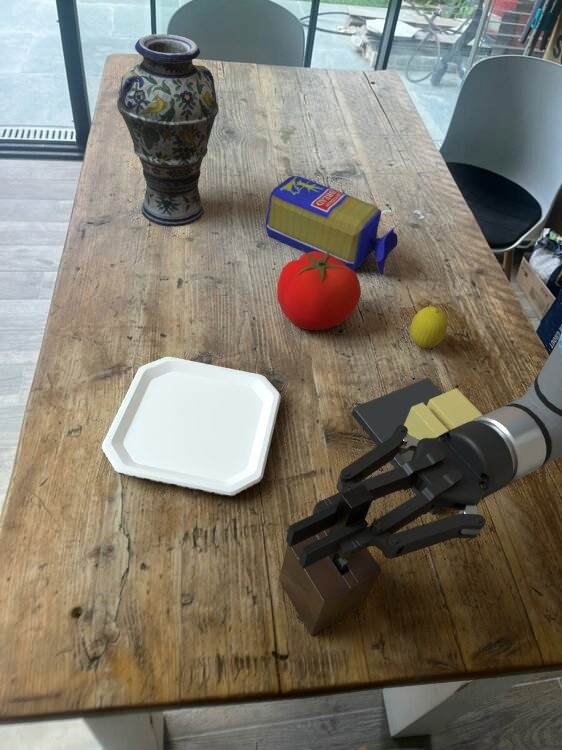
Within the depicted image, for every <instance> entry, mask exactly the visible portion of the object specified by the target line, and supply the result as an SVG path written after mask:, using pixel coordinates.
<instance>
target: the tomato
mask: <svg viewBox="0 0 562 750" xmlns="http://www.w3.org/2000/svg"><path fill="white" fill-rule="evenodd" d="M330 250H331V249H330ZM330 250H329V251H328V252H327V254H325V253H321V252H316V251H314V252H310V253H306V252H305V251H304V250H302V249H301V250H300V251H302V252H303V253H302V255H301V256H300V257H299V258H298V259H293V260H291V261H289V262H287V263H286V264H285V265H284V266H283V267H282V269H281V272H280V276H279V279H278V281H277V286H276V296H277V302H278V305H279V306H280V308H281V311H282V312H283V314H284V316H285V317H286V318H287V319H288V320H289V321H290V322H291V324H292V325H294V326H295V327H297V328H300V329H304V330H309V331H319V330H328V329H330V328H333V327H335V326H337V325H340V324H342V323H343V322H345V321H346V320H347V319H348V318H349V317H350V316H351V314H353V312H354V311H355V309H356V307H357V306H358V304H359V302H360V299H361V293H362V288H361V284H360V279H359V277H358V275H357V272H356V271H355V270H351V269H350V268H348V267H347V266H346V265H345V264H344V263H343V262H342V261H340V260H338V259H337V258H335V257H333V256H331V255H330V254H329V252H330Z"/></svg>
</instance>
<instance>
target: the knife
mask: <svg viewBox="0 0 562 750" xmlns="http://www.w3.org/2000/svg"><path fill="white" fill-rule="evenodd" d="M373 498H374V497H373V496H372V495H371V493H370V492H369V491H368V489H367V488H366V487H365V485H364V484H362V485H360V486H358V487H356V488H353V489H351V490H349V491H347V492H345V493H343V494H341V497H340V500H339V503H338V506H337V509H336V512H335V515H334V518H333V521H332V524H331V527H330V530H329V533H328V535H329V534H331V533H333V532H335V531H337V530H339V529H341V528H343V527H346V526H348V525H350V524H352V523H354V522H356V521H358V520H360V519H362V518H365V519H366V518H367V517H368V516H367V515H368V514H369V511H370V508H371V506H372V503H373V502H374V500H373ZM329 558H330V559H331V561H332V562H333V563H334V565H335V566H336V568H337V569H338V571H339V572H340V574H341V576H342V574H343V571H344V569H345V566H346V564H347V561H346V559H345V558H341V557H340V555H339V554H338V552H335V553H333V554H331V555H329Z"/></svg>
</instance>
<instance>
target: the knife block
mask: <svg viewBox="0 0 562 750" xmlns="http://www.w3.org/2000/svg"><path fill="white" fill-rule="evenodd" d="M329 530H330V528H328V529H326V530H324V531H322V532H320V533H318V534H316V535H314V536H312V537H310V538H308V539H306V540H304V541H302V542H300V543H298V544H296V545H294V546H292V547H289V545H288V543H287V544H286V547H285V552H284V557H283V560H282V565H281V569H280V573H279V576H278V577H279V578H278V580H279V582H280V584H281V586H282V588H283V589H284V591H285V593H286V595H287V597H288V598H289V600H290V602H291V603H292V605H293V607H294V609H295V610H296V612H297V614H298V615H299V617H300V619H301V621H302V623H303V624H304V626H305V629H306V630H307V632H308V633H309V635H310V636H311V637H312V636H314V635H315V634H317V633H320V632H321V631H323V630H325V629H326V628H328V627H329V626H332V625H333V624H335V623H337V622H339V621H340V620H342V619H344V618H346V617H347V616H349V615H350V614H352V613H354V612H356V611H358V610H359V609H361V608H363V607H364V606H365V604H366V603H367V601H368V599H369V597H370V595H371V594H372V592H373V589H374V588H375V585H376V584H377V582H378V581H379V578H380V576H381V575H382V573H383V569H382V568H381V566H380V565H379V563H378V562H377V560H376V559H375V557H374V556H373V555H372V553H371V552H370V549H368V548H366V549H364V550H362V551H360V552H358V553H356V554H354V555H352V556H350V557H348V558H345V559H346V561H347V564H346V566H345V569H344V571H343V574H342V576H341V574H340V572H339V571H338V569H337V568H336V566H335V565H334V563H333V562H332V561H331V559H330V558H329V556H327V557H326V558H324V559H322V560H320V561H318V562H316V563H314V564H312V565H310V566H308V567H306V568H304V569H303V568H302V566H301V565H300V563H299V559H300V556H301V552H302V549H303V547H305V546H307V545H309V544H311V543H313V542H315V541H317V540H319V539H321V538H323V537H325V536H327V535H328V533H329Z"/></svg>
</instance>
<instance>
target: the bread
mask: <svg viewBox="0 0 562 750" xmlns="http://www.w3.org/2000/svg"><path fill="white" fill-rule="evenodd" d="M381 216H382V210H381V209H380V208H378V207H377V206H375V205H373V204H371V203H368V202H366V201H364V200H361V199H358V198H356V197H354V196H352V195H349V194H347V193H344V192H341V191H339V190H336V189H334V188H331V187H329V186H325V185H323V184H320V183H318V182H315V181H312V180H310V179H308V178H305V177H303V176H299V175H298V176H297V175H292V176H289V177H288V178H287V179H284V181H283V182H281V183H280V184H278V185H277V186H276V187H274V188H273V189H272V190H271V192H270V195H269V201H268V208H267V214H266V218H265V222H264V224H265V232H266V234H267V236H268V237H269V238H272V239H274V240H277V241H279V242H281V243H284V244H286V245H288V246H290V247H293V248H295V249H297V250H300V251H302V250H304V251H305V252H306V253H310V252H314V251H316V252H321V253H325V254H327V252H328V251H329V250H330V249H331V250H330V252H329V254H330V255H331V256H333V257H335V258H337V259H338V260H340V261H342V262H343V263H344V264H345V265H346V266H347V267H348V268H350V269H351V270H353V271H355V270H356V269H358V268H360V266H361V265H363V263H364V262H365V261H366V260H367V259H368V258H369V256H370V255H371V254H372V253H374V256H375V260H376V266H377V269H378V272H379V273H380V274H381V275H384V273H385V265H386V260H387V259H388V256H389V254H390V253H391V252H392V251H393V250H394V249H395V248H397V246H398V242H399V240H398V238H399V237H398V234H397V233H396V232H395V229H396V228H397V226H398V225H399V224H400V223H398V224H397V225H395V226H394V227H393V228H391V229H390V230H389V231H388V232H386V234H385V235H383V236H381V237H378V230H379V226H380V225H379V224H380V221H381ZM301 249H302V250H301Z"/></svg>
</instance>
